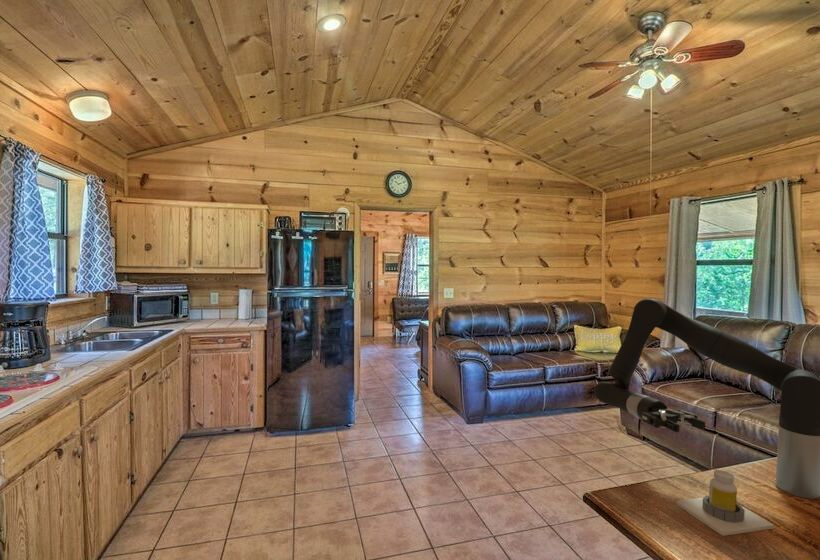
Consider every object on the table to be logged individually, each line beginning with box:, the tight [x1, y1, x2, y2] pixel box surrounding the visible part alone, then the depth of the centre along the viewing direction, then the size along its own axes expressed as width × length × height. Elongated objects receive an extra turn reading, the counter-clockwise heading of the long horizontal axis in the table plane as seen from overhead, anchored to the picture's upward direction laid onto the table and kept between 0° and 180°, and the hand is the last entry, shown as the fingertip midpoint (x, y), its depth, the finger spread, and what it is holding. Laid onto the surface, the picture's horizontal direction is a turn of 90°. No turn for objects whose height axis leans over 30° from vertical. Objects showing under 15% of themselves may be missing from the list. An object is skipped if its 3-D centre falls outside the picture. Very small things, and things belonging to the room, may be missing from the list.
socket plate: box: [675, 495, 775, 537], centre depth 104 cm, size 15×13×3 cm
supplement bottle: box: [708, 469, 738, 513], centre depth 104 cm, size 5×5×10 cm
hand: (691, 427), depth 115 cm, fingers open, 8 cm apart
